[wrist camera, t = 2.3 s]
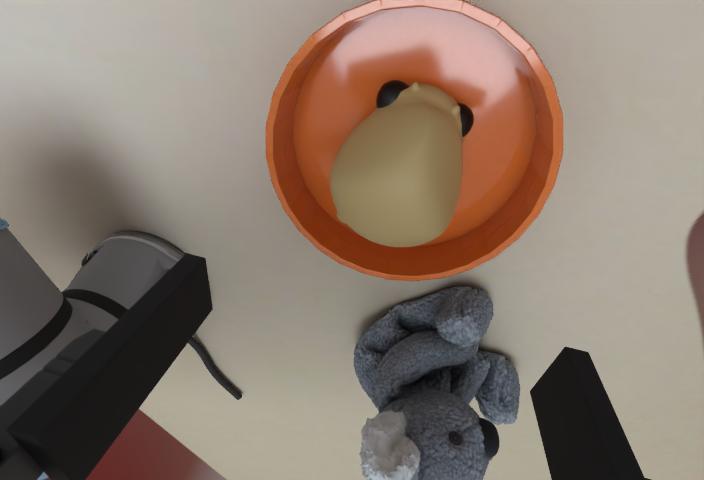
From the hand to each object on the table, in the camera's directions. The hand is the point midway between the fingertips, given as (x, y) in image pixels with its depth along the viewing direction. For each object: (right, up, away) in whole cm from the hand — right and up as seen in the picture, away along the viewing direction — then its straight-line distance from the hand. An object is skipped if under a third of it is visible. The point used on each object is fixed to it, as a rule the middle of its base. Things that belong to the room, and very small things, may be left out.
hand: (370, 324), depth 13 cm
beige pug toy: (+4, +11, +17) cm, 20 cm away
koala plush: (+9, -9, +29) cm, 32 cm away
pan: (+4, +11, +17) cm, 20 cm away
